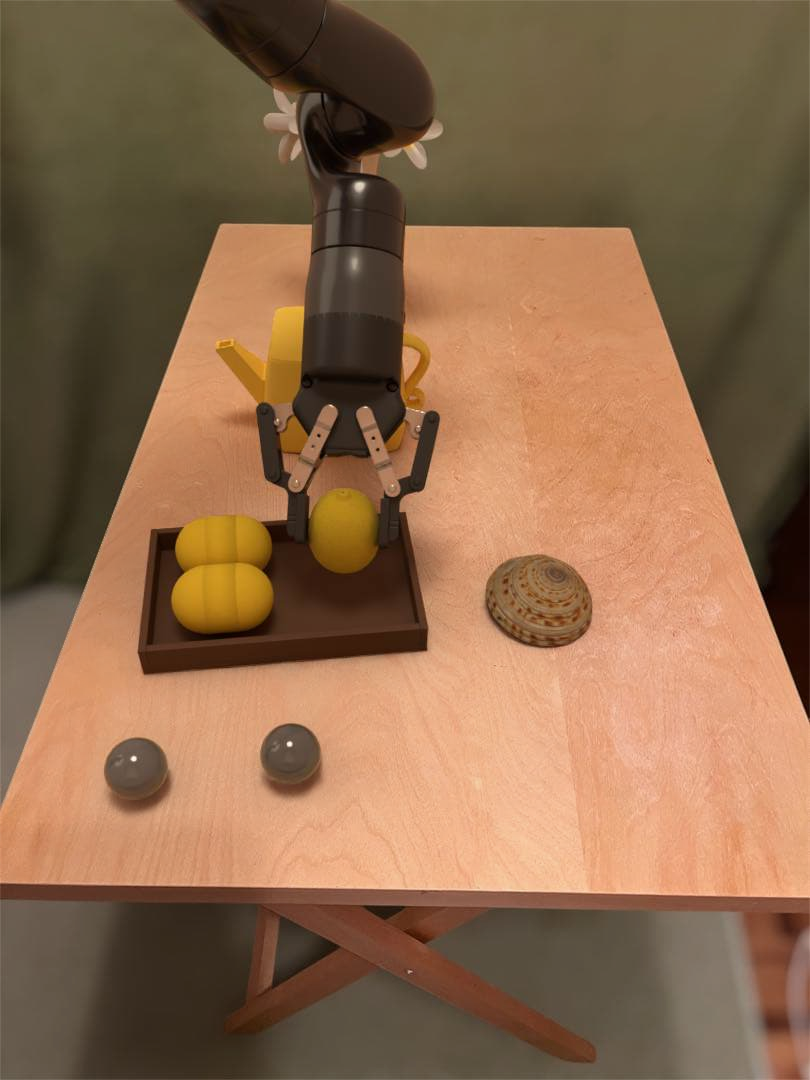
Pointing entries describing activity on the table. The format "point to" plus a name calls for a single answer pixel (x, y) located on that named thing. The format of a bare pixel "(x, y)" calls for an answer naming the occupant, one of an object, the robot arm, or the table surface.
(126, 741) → the glossy gray ball
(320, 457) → the robot arm
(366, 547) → the lemon
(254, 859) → the table surface
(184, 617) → the yellow ribbed oblong body
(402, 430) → the teapot
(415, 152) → the flower vase
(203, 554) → the yellow banded capsule
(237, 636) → the tray
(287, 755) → the stone right
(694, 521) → the table surface
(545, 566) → the seashell
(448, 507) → the table surface
